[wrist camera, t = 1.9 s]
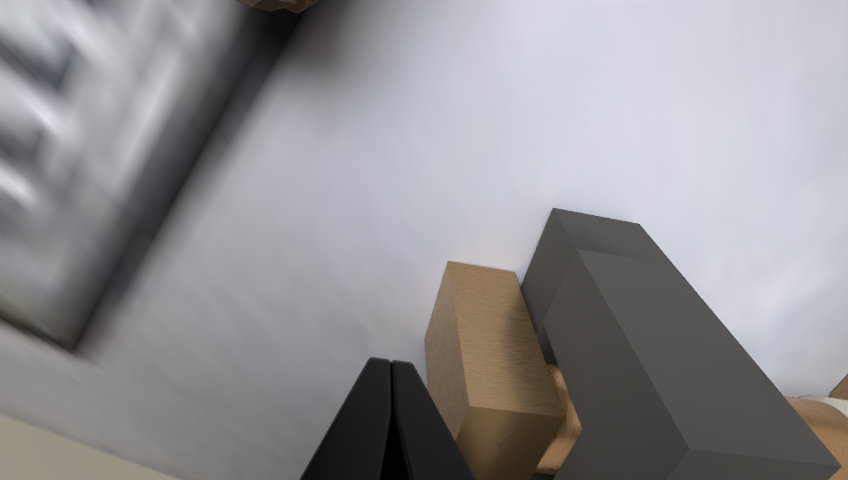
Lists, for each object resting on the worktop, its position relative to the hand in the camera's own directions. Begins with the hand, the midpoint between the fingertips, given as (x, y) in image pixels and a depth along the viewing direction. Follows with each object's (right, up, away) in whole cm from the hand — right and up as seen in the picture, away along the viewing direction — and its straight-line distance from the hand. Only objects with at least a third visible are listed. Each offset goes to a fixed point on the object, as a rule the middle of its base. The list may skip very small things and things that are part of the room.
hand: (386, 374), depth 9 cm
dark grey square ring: (+5, 0, +9) cm, 10 cm away
